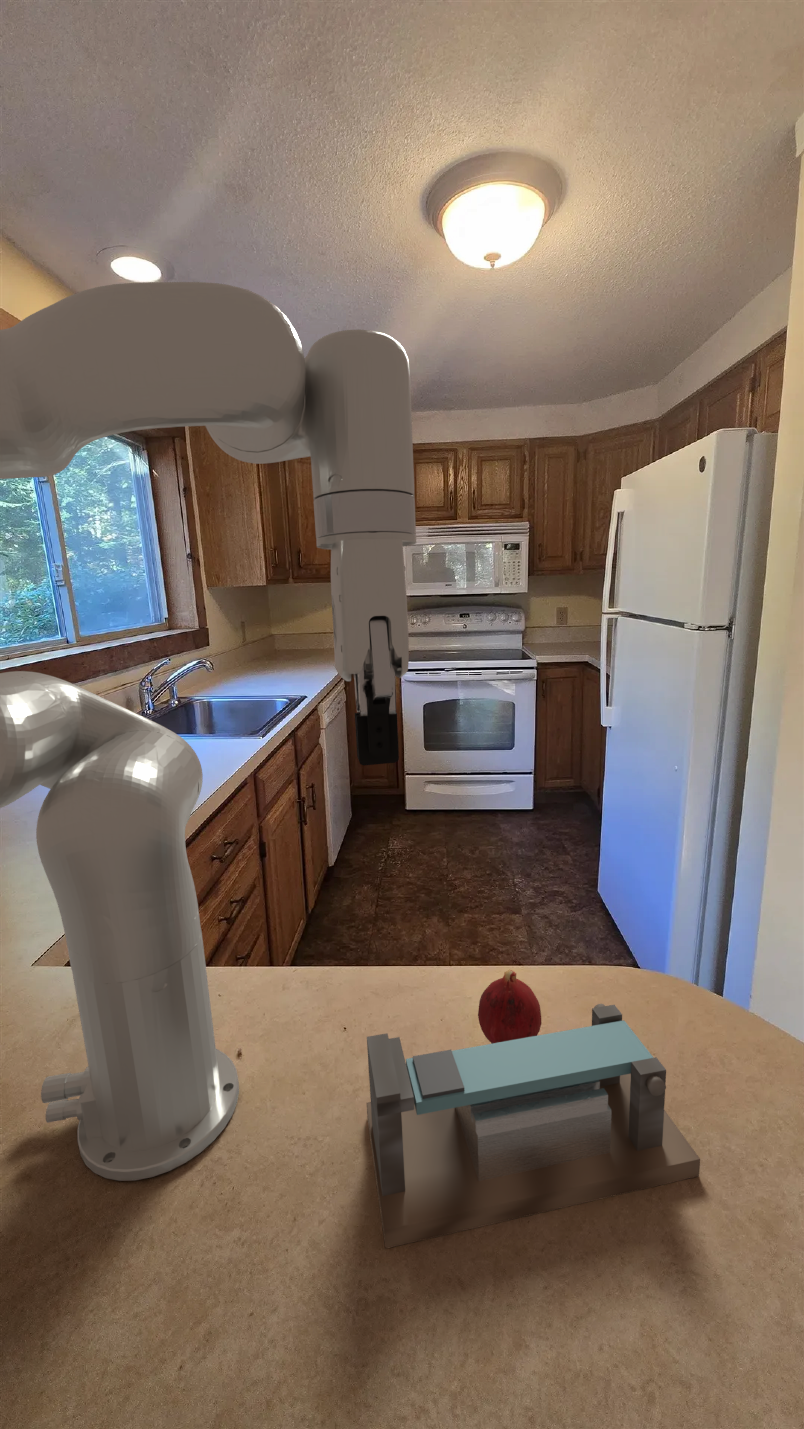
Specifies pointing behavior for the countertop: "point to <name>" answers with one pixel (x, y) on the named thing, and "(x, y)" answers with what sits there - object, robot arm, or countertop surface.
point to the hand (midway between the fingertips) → (378, 760)
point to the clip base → (449, 1197)
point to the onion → (509, 1010)
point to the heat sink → (537, 1129)
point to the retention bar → (522, 1066)
